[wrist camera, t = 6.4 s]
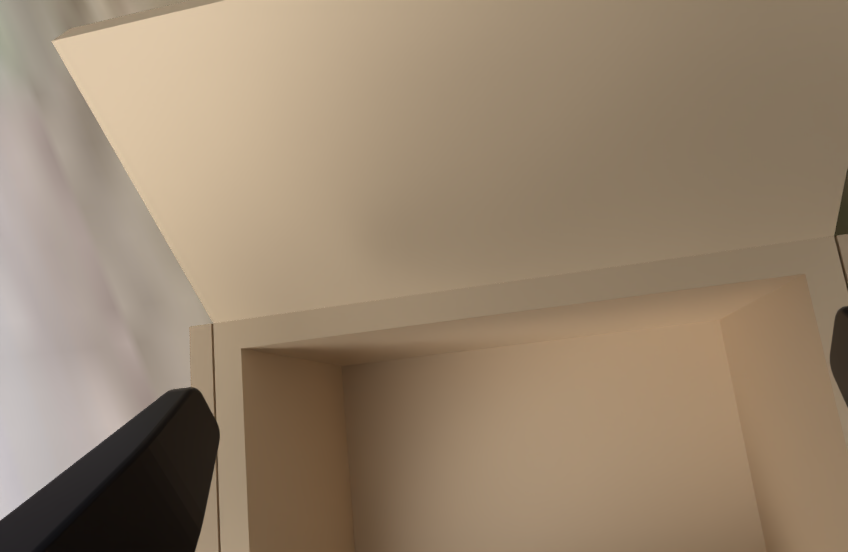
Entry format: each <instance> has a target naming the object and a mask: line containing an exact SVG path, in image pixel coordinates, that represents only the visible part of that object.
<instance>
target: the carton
mask: <svg viewBox="0 0 848 552" xmlns="http://www.w3.org/2000/svg"><path fill="white" fill-rule="evenodd" d="M844 306H848V234H844V235H837V236H835V237H834V236H830V237H823V238H816V239H808V240H801V241H794V242H787V243H780V244H773V245H766V246H759V247H752V248H745V249H737V250H730V251H723V252H716V253H709V254H702V255H695V256H688V257H681V258H674V259H666V260H659V261H652V262H645V263H638V264H631V265H624V266H617V267H610V268H603V269H596V270H588V271H581V272H574V273H567V274H560V275H553V276H546V277H539V278H532V279H525V280H517V281H510V282H503V283H496V284H489V285H482V286H475V287H468V288H461V289H454V290H446V291H439V292H432V293H425V294H418V295H411V296H404V297H397V298H390V299H383V300H376V301H368V302H361V303H354V304H347V305H340V306H333V307H326V308H319V309H312V310H305V311H297V312H290V313H283V314H276V315H269V316H262V317H255V318H248V319H241V320H234V321H227V322H219V323H213V324H205V325H198V326H191V327H189V330H190V370H191V387H194V388H197V389H198V390H199V391H200V392H201V393H202V395H203V397H204V399H205V400H206V402H207V404H208V406H209V408H210V410H211V412H212V414H213V416H214V417H215V419H216V421H217V423H218V426H219V430H220V441H219V447H218V452H217V457H216V461H215V466H214V471H213V476H212V481H211V486H210V491H209V496H208V501H207V506H206V511H205V516H204V520H203V524H202V529H201V533H200V536H199V540H198V543H197V547H196V550H195V552H848V408H847V405H846V403H845V401H844V399H843V396H842V394H841V392H840V390H839V388H838V385H837V383H836V381H835V379H834V376H833V374H832V371H831V367H830V349H831V341H832V334H833V327H834V319H835V315H836V313H837V311H838V310H839V309H840V308H842V307H844Z"/></svg>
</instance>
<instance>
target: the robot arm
mask: <svg viewBox="0 0 848 552" xmlns="http://www.w3.org/2000/svg"><path fill="white" fill-rule="evenodd" d="M830 367H831V371H832V374H833V376H834V379H835V381H836V383H837V385H838V388H839V390H840V392H841V394H842V396H843V399H844V401H845V403H846V405H847V408H848V306H844V307H842V308H840V309H839V310H838V311H837V313H836V315H835V319H834V327H833V334H832V341H831V349H830ZM219 441H220V430H219V426H218V423H217V421H216V419H215V417H214V416H213V414H212V412H211V410H210V408H209V406H208V404H207V402H206V400H205V399H204V397H203V395H202V393H201V392H200V391H199V390H198V389H197V388H194V387H188V388H180V389H173V390H170V391H168V392H166V393H165V394H164V395H162V396H161V397H160V398H158V399H157V400H156V401H155V402H153V403H152V404H151V405H149V406H148V407H147V408H145V409H144V410H143V411H142V412H140V413H139V414H138V415H136V416H135V417H134V418H133V419H131V420H130V421H129V422H127V423H126V424H125V425H123V426H122V427H121V428H120V429H118V430H117V431H116V432H114V433H113V434H112V435H111V436H109V437H108V438H107V439H105V440H104V441H103V442H101V443H100V444H99V445H98V446H96V447H95V448H94V449H92V450H91V451H90V452H89V453H87V454H86V455H85V456H83V457H82V458H81V459H79V460H78V461H77V462H76V463H74V464H73V465H72V466H70V467H69V468H68V469H67V470H65V471H64V472H63V473H61V474H60V475H59V476H57V477H56V478H55V479H54V480H52V481H51V482H50V483H48V484H47V485H46V486H45V487H43V488H42V489H41V490H39V491H38V492H37V493H35V494H34V495H33V496H32V497H30V498H29V499H28V500H26V501H25V502H24V503H23V504H21V505H20V506H19V507H17V508H16V509H15V510H13V511H12V512H11V513H10V514H8V515H7V516H6V517H4V518H3V519H2V520H1V521H0V552H195V550H196V547H197V543H198V540H199V536H200V533H201V529H202V524H203V520H204V516H205V511H206V506H207V501H208V496H209V491H210V486H211V481H212V476H213V471H214V466H215V461H216V457H217V452H218V447H219Z"/></svg>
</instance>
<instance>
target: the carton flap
mask: <svg viewBox="0 0 848 552" xmlns="http://www.w3.org/2000/svg"><path fill="white" fill-rule="evenodd" d="M52 43H53V44H54V46H55V48H56V50H57V51H58V53H59V55H60V57H61V58H62V60H63V62H64V64H65V65H66V67H67V69H68V71H69V72H70V74H71V76H72V78H73V79H74V81H75V83H76V84H77V86H78V88H79V90H80V91H81V93H82V95H83V97H84V98H85V100H86V102H87V104H88V105H89V107H90V109H91V111H92V112H93V114H94V116H95V118H96V119H97V121H98V123H99V125H100V126H101V128H102V130H103V132H104V133H105V135H106V137H107V139H108V140H109V142H110V144H111V146H112V147H113V149H114V151H115V153H116V154H117V156H118V158H119V160H120V161H121V163H122V165H123V166H124V168H125V170H126V172H127V173H128V175H129V177H130V179H131V180H132V182H133V184H134V186H135V187H136V189H137V191H138V193H139V194H140V196H141V198H142V200H143V201H144V203H145V205H146V207H147V208H148V210H149V212H150V214H151V215H152V217H153V219H154V221H155V222H156V224H157V226H158V228H159V229H160V231H161V233H162V235H163V236H164V238H165V240H166V241H167V243H168V245H169V247H170V248H171V250H172V252H173V254H174V255H175V257H176V259H177V261H178V262H179V264H180V266H181V268H182V269H183V271H184V273H185V275H186V276H187V278H188V280H189V282H190V283H191V285H192V287H193V289H194V290H195V292H196V294H197V296H198V297H199V299H200V301H201V303H202V304H203V306H204V308H205V310H206V311H207V313H208V315H209V317H210V318H211V320H212V322H213V323H219V322H226V321H233V320H240V319H247V318H255V317H262V316H269V315H276V314H283V313H290V312H297V311H304V310H311V309H318V308H326V307H333V306H340V305H347V304H354V303H361V302H368V301H375V300H382V299H389V298H396V297H404V296H411V295H418V294H425V293H432V292H439V291H446V290H453V289H460V288H467V287H475V286H482V285H489V284H496V283H503V282H510V281H517V280H524V279H531V278H538V277H545V276H553V275H560V274H567V273H574V272H581V271H588V270H595V269H602V268H609V267H616V266H624V265H631V264H638V263H645V262H652V261H659V260H666V259H673V258H680V257H687V256H694V255H702V254H709V253H716V252H723V251H730V250H737V249H744V248H751V247H758V246H765V245H773V244H780V243H787V242H794V241H801V240H808V239H815V238H822V237H829V236H834V234H835V229H836V224H837V219H838V214H839V208H840V203H841V198H842V193H843V188H844V183H845V178H846V173H847V168H848V0H188V1H184V2H180V3H175V4H171V5H167V6H163V7H159V8H154V9H150V10H146V11H142V12H138V13H133V14H129V15H125V16H121V17H117V18H112V19H108V20H104V21H100V22H96V23H91V24H87V25H83V26H79V27H75V28H71V29H69V30H67V31H66V32H64V33H63V34H62V35H60V36H59V37H57V38H56V39H54V40H53V41H52Z"/></svg>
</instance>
